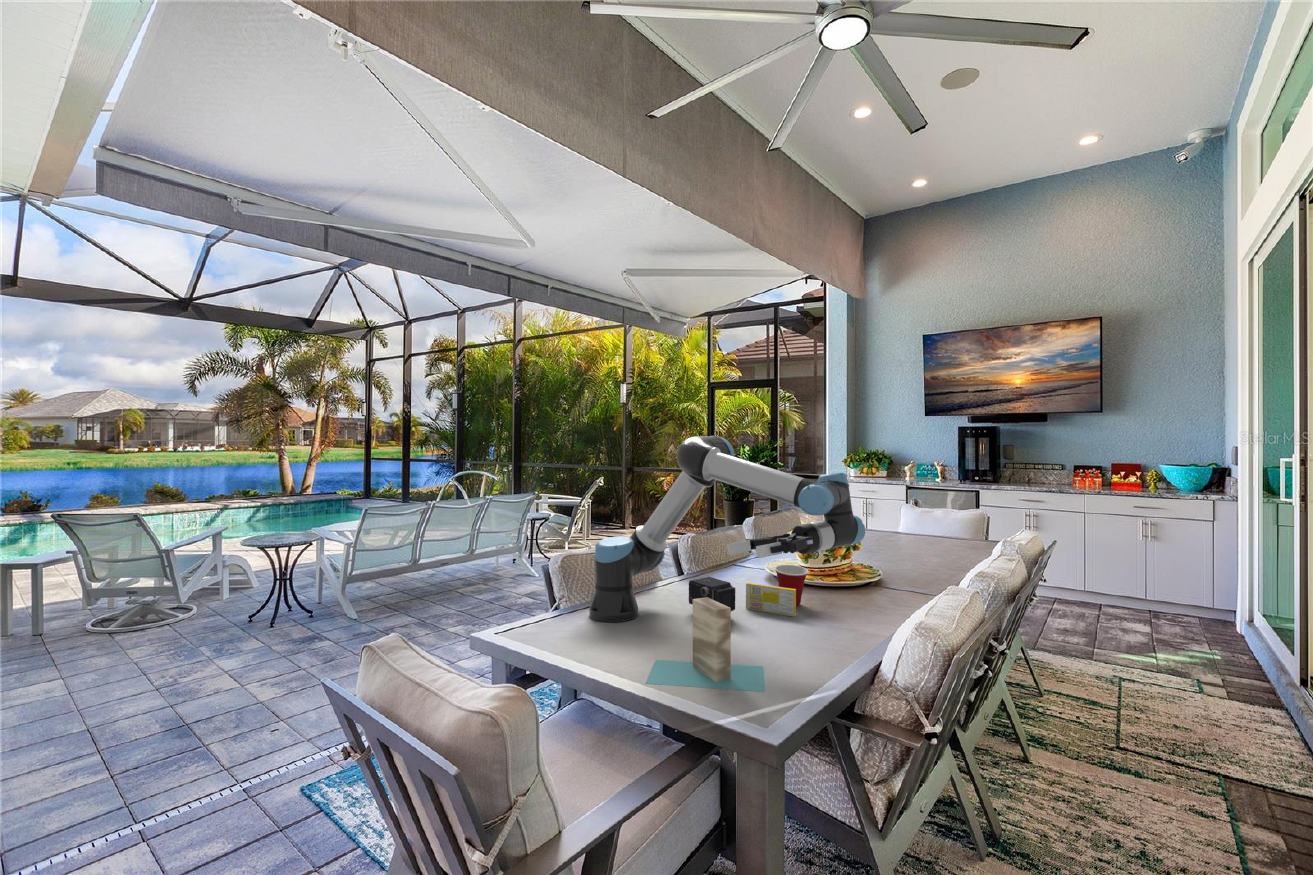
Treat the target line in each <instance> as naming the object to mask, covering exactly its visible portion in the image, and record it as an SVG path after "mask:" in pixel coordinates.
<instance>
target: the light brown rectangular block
mask: <svg viewBox="0 0 1313 875" xmlns="http://www.w3.org/2000/svg"><path fill="white" fill-rule="evenodd" d="M731 612H732V611H731V608H730V607H728V606H725V605H723V604H721V603H719V602H717V601H714V600H712V599H710V598H708V597H704V598H698V599H693V605H692V662H693V667H694V668H696V669H697V670H699V671H700V672H702V673H703V674H705V675H706V676H708V677H709V678H711V679H712V680H714V681H715V682H718V681H722V680H726V679H730V678H731V664H732V663H731V662H732V658H731V657H732V656H731V652H732V650H731V648H732V647H731V644H732V643H731V642H732V641H731V638H732V635H731V633H732V632H731V629H732V628H731V624H732V623H731V621H732V619H731V617H732V616H731Z"/></svg>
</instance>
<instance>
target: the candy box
mask: <svg viewBox="0 0 1313 875" xmlns="http://www.w3.org/2000/svg"><path fill="white" fill-rule="evenodd" d="M750 609H753V610H752V611H756V610H759V612H762V611H763V612H764V613H770V614H774V615H780V614H781V616H786V615H787V617H793V618H795V617H796V616H797V613H796V612H797V611H796V610H797V607H796V589H791V588H783V587H779V586H775V585H766V584H759V583H752V582H747V583H745V610H750Z"/></svg>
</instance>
